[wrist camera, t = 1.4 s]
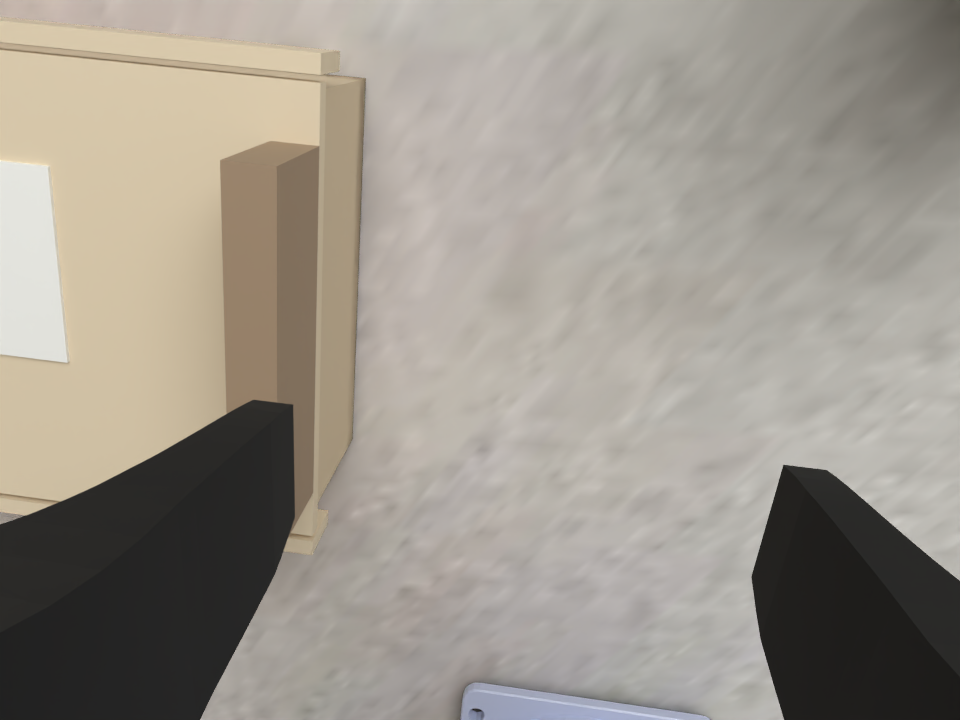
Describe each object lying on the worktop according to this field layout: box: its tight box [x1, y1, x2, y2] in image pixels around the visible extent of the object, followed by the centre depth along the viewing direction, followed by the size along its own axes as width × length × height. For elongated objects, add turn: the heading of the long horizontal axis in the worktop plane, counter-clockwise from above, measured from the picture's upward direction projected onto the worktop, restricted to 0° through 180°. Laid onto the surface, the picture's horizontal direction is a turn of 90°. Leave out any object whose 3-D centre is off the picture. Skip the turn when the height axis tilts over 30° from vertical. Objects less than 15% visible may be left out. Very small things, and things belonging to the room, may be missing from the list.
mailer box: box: [0, 42, 366, 502], centre depth 21 cm, size 10×14×4 cm
